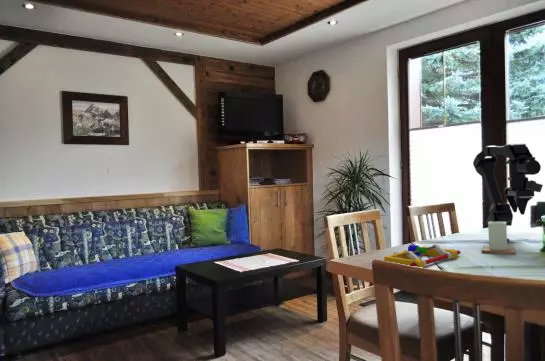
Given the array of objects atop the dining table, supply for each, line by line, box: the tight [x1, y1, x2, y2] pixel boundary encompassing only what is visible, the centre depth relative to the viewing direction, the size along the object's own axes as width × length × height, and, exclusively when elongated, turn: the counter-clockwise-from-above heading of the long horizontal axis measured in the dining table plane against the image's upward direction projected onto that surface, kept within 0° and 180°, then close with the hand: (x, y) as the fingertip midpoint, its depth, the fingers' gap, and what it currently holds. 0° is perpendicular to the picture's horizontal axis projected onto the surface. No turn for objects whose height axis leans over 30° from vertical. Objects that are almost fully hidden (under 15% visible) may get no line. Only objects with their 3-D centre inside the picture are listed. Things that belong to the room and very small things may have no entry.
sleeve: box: [488, 222, 508, 250], centre depth 161 cm, size 5×6×10 cm
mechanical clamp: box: [383, 243, 462, 268], centre depth 153 cm, size 18×6×30 cm
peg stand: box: [481, 245, 516, 256], centre depth 162 cm, size 11×11×5 cm
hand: (518, 213), depth 170 cm, fingers open, 9 cm apart
